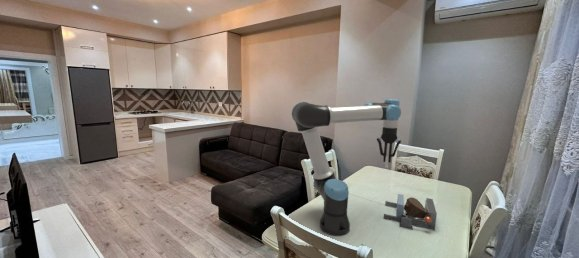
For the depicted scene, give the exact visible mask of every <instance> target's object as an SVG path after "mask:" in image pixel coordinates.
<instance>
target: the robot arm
mask: <svg viewBox="0 0 579 258" xmlns="http://www.w3.org/2000/svg"><path fill="white" fill-rule="evenodd" d="M401 116H402V110H401V107H400V100H399V99H397V98H396V99H395V98H386V99H385V100H384V102H366V103H365V104H363V105H351V106H336V107H335V106H333V107H330V106H329V105H319V104H314V103H310V102H307V101H303V102H301V101H300V102H298V103H296V104H295V105H294V106H293V107H292V109H291V118H292V119H293V121H294V122H295V126H296V128H297V132H299V133H301V135H302V137H303V138H302V139H303V141H304V143H305V147H306V150H307V153H308V156H309V160H310V163H311V166H312V168H313V169H312V170H313V171H314V173H313V175H312V178H313V185H314V188H315V190H316V192H318V193H319V195H320V196H321V198H322V199H323V212H322V214H321V216H320V219H319V229H320V230H321V231H323V232H324V233H326V234H328V235H331V236H338V237H339V236H344V235H346V234H348V233H349V232H350V230H351V229H350V228H351V223H350V219H349V216H348V203H349V202H348V201H349V193H350V192H349V186H348V184H347V183H346V182H345V181H343V180H340V179H338V178H336V175H335V172H334V169H332V168H330V165H329V162H328V159H327V158H328V157H327V154H326V152H325V148H324V146H323V142H322V139H321V135H320V132H319V127H329V126H330V125H331V124H342V123H343V124H345V123H357V122H369V121H370V122H372V121H382V131H381V132H382V133H381V135H380V136H379V137H377V138H376V141H377V143H378V147H379V155H380V156H383V163H384V168H385V169H389V163H391V162H392V158H394V157H395V156H396V153H397V150H398V147H399V145H400V144H401V143H402V139H399V138H398V135H397V134H398V123H399V119H400V118H401ZM382 142H383V143H384V146H382V145H383V144H382ZM395 142H396V144H395V146H394V149H393V144H394V143H395ZM388 145H389V148H388ZM383 147H384V149H383ZM387 152H388V155H387ZM392 152H393V153H392Z"/></svg>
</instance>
